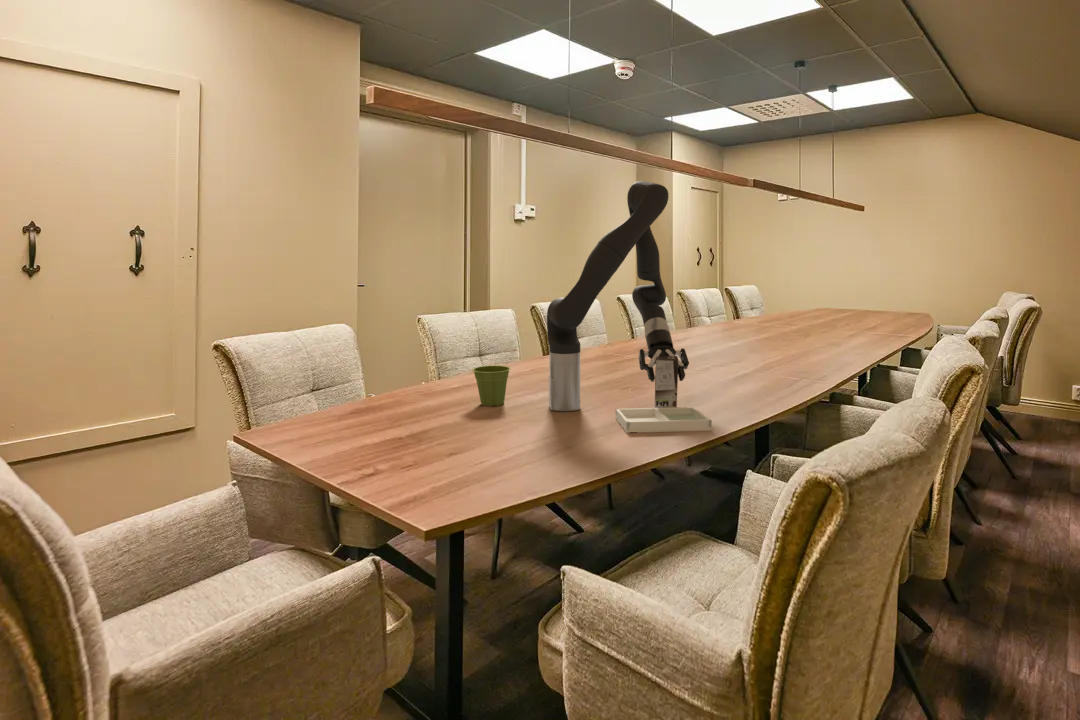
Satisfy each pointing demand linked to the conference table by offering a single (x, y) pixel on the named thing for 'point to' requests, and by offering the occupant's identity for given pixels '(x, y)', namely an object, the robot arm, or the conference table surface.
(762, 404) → the conference table surface
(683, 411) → the tray
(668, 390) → the coffee box
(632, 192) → the robot arm
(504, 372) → the plant pot
